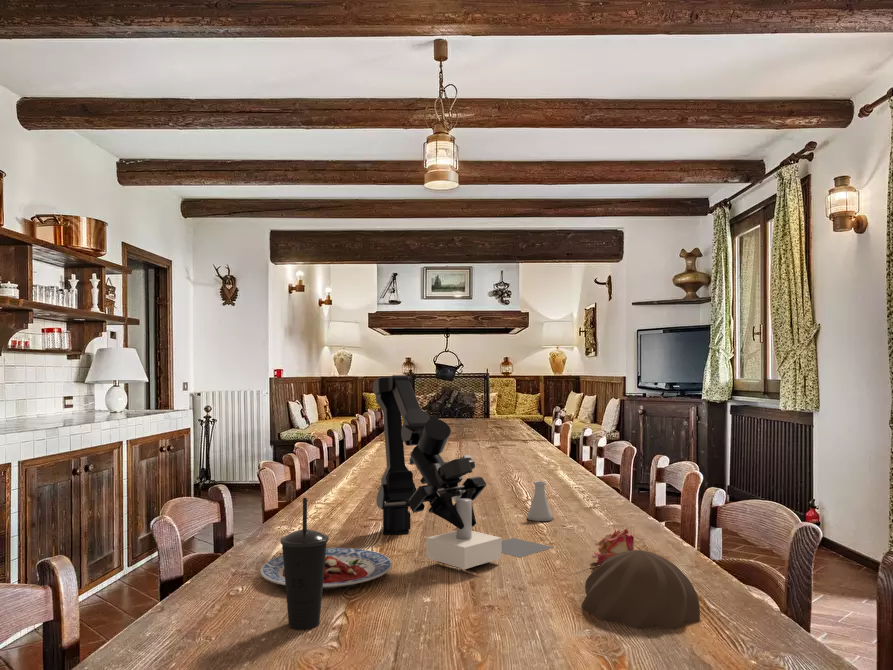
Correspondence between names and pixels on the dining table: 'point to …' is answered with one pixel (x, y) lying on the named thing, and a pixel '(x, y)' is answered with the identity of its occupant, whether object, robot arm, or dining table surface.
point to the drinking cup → (304, 574)
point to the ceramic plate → (337, 567)
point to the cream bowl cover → (464, 543)
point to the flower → (614, 545)
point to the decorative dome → (641, 592)
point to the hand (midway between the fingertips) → (468, 526)
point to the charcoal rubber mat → (521, 547)
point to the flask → (539, 504)
